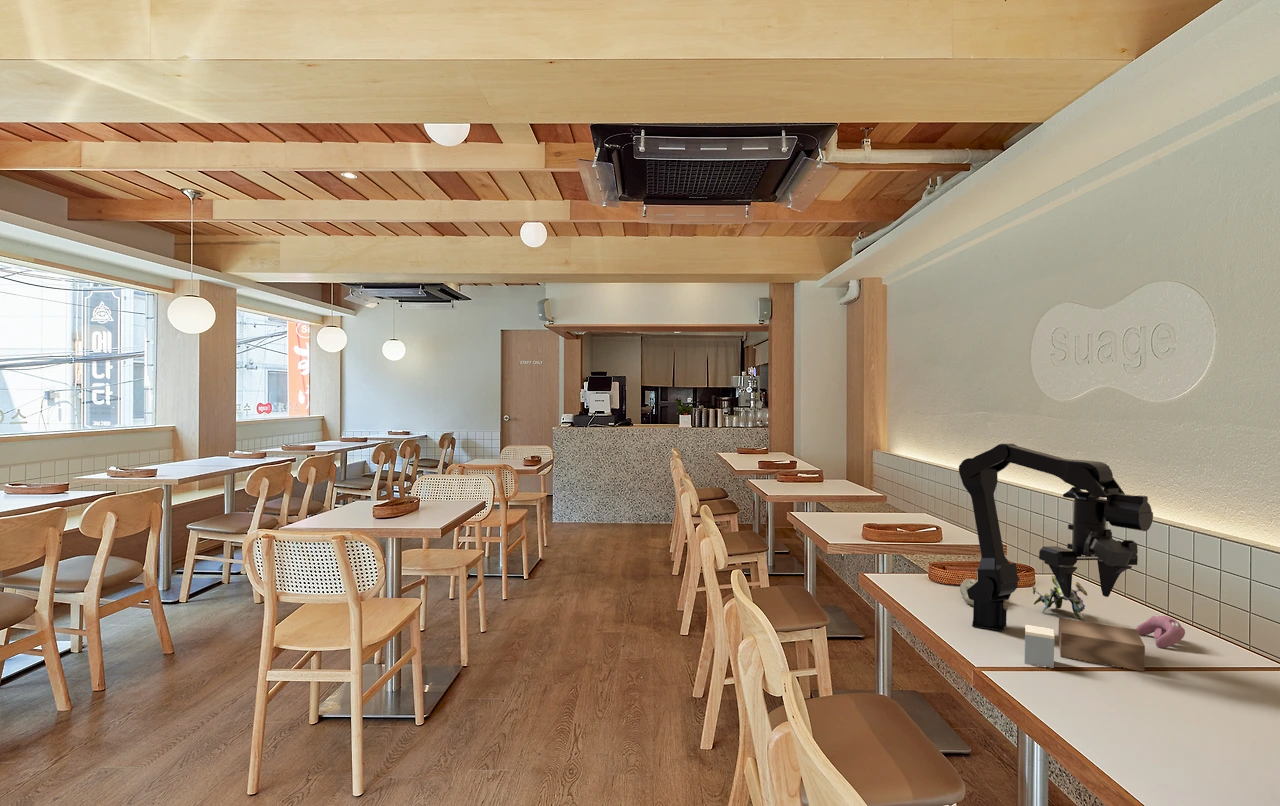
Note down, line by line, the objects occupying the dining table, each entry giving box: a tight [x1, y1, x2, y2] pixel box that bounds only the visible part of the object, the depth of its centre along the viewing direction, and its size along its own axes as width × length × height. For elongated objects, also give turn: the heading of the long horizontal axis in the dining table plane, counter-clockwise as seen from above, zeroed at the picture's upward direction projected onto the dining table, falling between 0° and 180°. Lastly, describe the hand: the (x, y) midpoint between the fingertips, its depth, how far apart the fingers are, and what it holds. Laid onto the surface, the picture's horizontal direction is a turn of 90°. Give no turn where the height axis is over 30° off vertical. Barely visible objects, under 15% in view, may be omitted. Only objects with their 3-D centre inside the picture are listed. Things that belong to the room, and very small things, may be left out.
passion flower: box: [1032, 574, 1088, 620], centre depth 170 cm, size 11×11×12 cm
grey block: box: [1024, 624, 1055, 669], centre depth 137 cm, size 5×5×6 cm
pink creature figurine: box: [1135, 614, 1186, 649], centre depth 151 cm, size 10×5×7 cm, turn 169°
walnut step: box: [1057, 617, 1146, 673], centre depth 142 cm, size 14×12×5 cm
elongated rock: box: [959, 579, 978, 606], centre depth 188 cm, size 35×5×10 cm
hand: (1086, 596), depth 141 cm, fingers open, 9 cm apart
